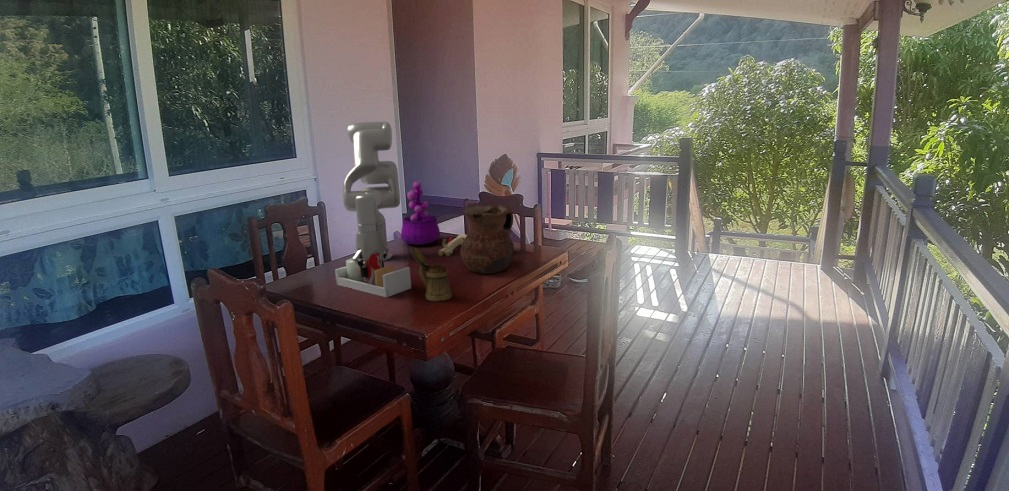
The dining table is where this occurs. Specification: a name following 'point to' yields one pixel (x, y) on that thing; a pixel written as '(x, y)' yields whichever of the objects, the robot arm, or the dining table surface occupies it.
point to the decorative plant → (419, 221)
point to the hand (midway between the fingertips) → (373, 274)
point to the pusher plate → (381, 272)
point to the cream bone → (451, 245)
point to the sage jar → (353, 271)
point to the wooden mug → (433, 278)
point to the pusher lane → (391, 283)
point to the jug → (488, 239)
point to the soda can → (373, 267)
